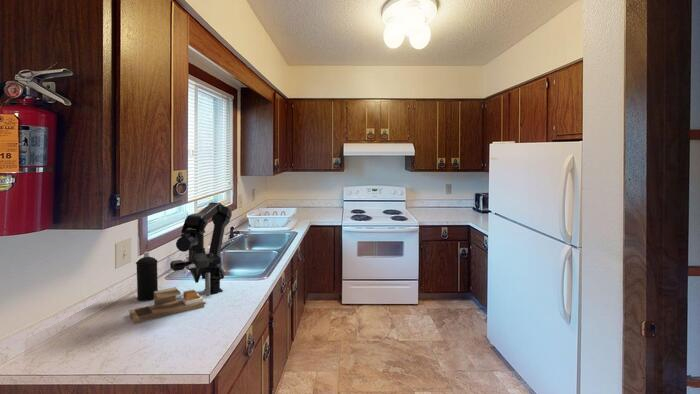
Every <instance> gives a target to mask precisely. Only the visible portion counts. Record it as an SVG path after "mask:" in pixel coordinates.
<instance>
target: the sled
mask: <svg viewBox="0 0 700 394" xmlns="http://www.w3.org/2000/svg"><path fill="white" fill-rule="evenodd" d="M204 289H205V291H204V295H200V294H199V293H198V292H197V298H198V299H194V300H190V301H186V300H185V299H184V295H183V296H180V299H181V301H182V302H183V303H184V304H185V305H189V304H194V303H198V302H202V301H203V302H204V300H207V299H211V298H212V294H210V273H205V279H204Z"/></svg>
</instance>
